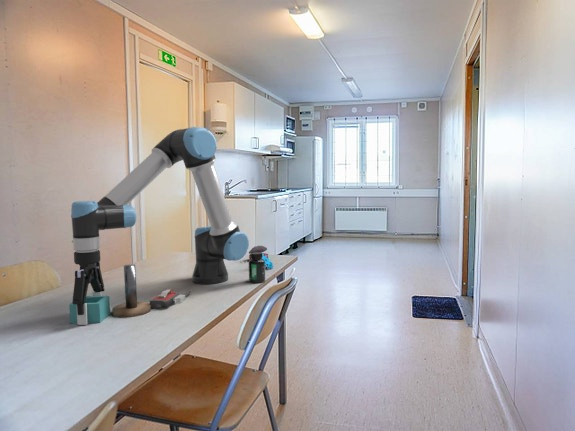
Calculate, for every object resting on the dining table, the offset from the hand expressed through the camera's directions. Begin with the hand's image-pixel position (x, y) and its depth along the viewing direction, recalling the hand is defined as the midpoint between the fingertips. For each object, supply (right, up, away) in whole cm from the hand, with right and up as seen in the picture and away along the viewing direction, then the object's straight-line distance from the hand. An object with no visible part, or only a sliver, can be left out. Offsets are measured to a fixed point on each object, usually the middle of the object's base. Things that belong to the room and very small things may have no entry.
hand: (90, 317), depth 141 cm
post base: (+11, +1, +7) cm, 13 cm away
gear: (+52, +7, +70) cm, 87 cm away
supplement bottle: (+50, +5, +44) cm, 67 cm away
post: (+11, +2, +6) cm, 13 cm away
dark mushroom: (+48, +9, +89) cm, 101 cm away
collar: (0, 0, 0) cm, 0 cm away
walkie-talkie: (+21, +1, +18) cm, 27 cm away
